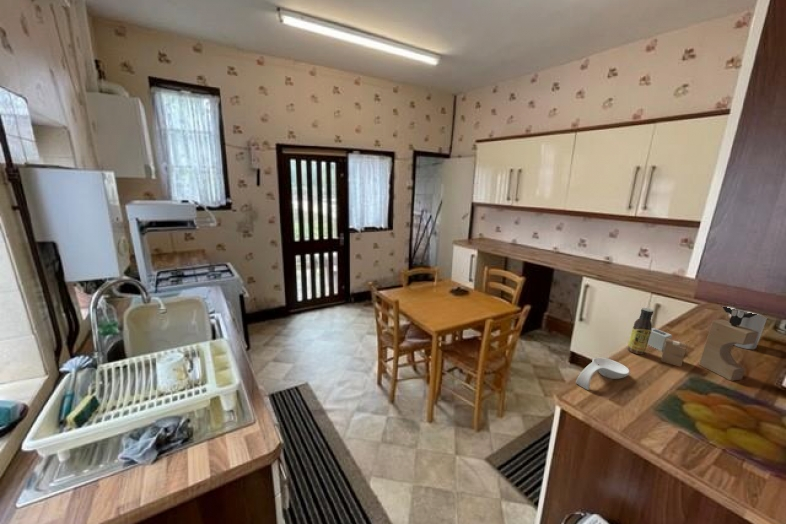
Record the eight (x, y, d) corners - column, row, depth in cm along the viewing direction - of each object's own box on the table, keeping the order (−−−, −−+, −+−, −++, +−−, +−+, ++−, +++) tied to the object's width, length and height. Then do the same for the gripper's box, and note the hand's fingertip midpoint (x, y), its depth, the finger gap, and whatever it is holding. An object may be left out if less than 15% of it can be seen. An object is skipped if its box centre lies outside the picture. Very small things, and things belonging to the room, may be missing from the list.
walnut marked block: (661, 355, 134) (666, 337, 131) (680, 360, 130) (685, 342, 128) (661, 361, 129) (666, 343, 127) (680, 366, 125) (686, 348, 123)
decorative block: (742, 379, 118) (759, 332, 112) (730, 381, 117) (747, 333, 111) (708, 363, 128) (723, 318, 123) (697, 364, 127) (711, 319, 122)
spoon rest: (601, 362, 128) (604, 346, 126) (633, 377, 118) (638, 361, 116) (566, 379, 117) (569, 362, 115) (599, 398, 107) (603, 380, 105)
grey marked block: (650, 341, 145) (653, 327, 143) (667, 348, 139) (671, 334, 137) (643, 343, 143) (647, 329, 141) (661, 351, 137) (665, 336, 135)
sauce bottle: (631, 354, 134) (642, 311, 128) (623, 346, 140) (633, 305, 134) (648, 356, 133) (660, 313, 127) (640, 348, 139) (650, 307, 133)
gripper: (778, 285, 109) (762, 330, 114) (725, 275, 120) (712, 316, 124) (775, 289, 105) (758, 335, 110) (720, 278, 116) (707, 321, 120)
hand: (734, 325), depth 117 cm, fingers closed
